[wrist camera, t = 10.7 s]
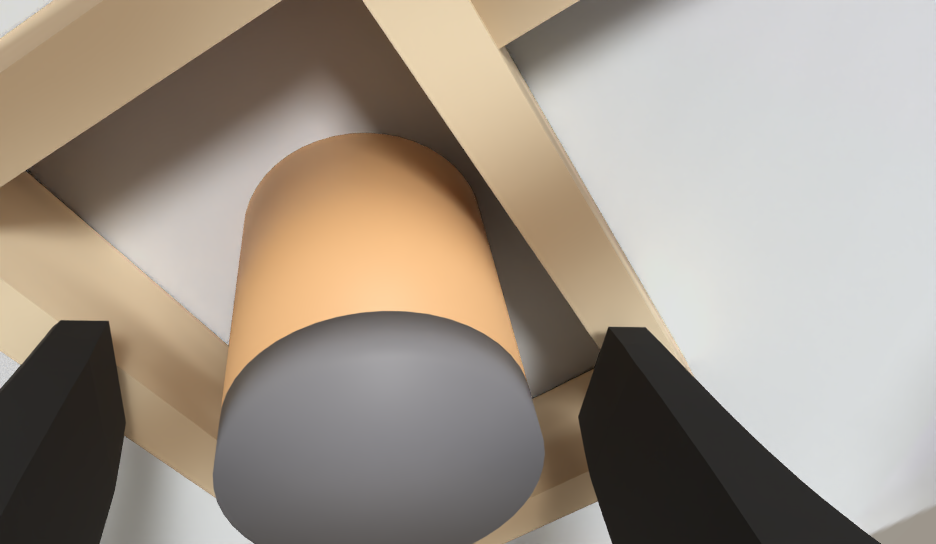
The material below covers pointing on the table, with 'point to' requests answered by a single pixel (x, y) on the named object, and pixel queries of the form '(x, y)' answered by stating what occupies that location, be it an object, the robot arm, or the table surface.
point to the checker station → (180, 333)
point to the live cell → (371, 357)
